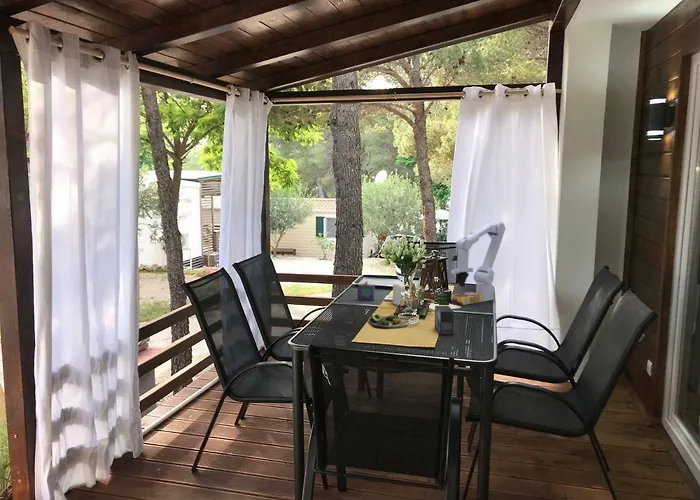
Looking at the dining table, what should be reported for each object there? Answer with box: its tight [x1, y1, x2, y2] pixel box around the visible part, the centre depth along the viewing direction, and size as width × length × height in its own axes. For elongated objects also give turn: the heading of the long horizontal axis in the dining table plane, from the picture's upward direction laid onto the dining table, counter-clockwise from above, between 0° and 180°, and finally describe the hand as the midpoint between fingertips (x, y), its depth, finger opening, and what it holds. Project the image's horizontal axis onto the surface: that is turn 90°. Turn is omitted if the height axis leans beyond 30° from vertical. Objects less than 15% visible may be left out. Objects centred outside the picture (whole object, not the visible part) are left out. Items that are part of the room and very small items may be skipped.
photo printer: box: [392, 281, 407, 307], centre depth 284 cm, size 10×4×12 cm, turn 26°
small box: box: [434, 305, 455, 336], centre depth 238 cm, size 11×6×10 cm, turn 5°
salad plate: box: [368, 312, 410, 330], centre depth 250 cm, size 19×18×5 cm
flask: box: [357, 281, 376, 302], centre depth 294 cm, size 9×3×11 cm, turn 88°
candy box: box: [450, 291, 483, 306], centre depth 294 cm, size 9×4×15 cm
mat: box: [429, 302, 462, 311], centre depth 283 cm, size 16×14×1 cm
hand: (461, 286), depth 290 cm, fingers closed
